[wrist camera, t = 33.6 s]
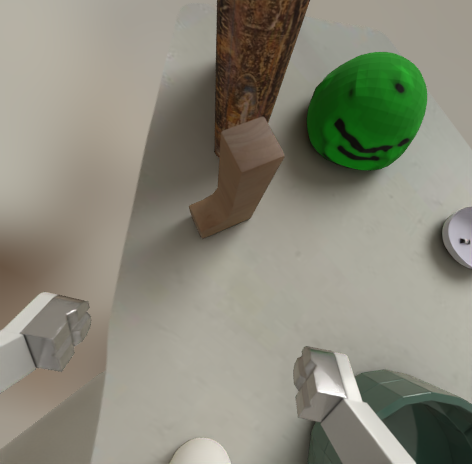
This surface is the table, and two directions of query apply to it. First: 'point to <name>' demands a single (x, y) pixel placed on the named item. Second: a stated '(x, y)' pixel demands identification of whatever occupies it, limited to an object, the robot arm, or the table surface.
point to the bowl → (410, 419)
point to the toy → (367, 111)
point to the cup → (200, 453)
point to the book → (252, 57)
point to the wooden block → (239, 176)
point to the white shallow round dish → (459, 236)
